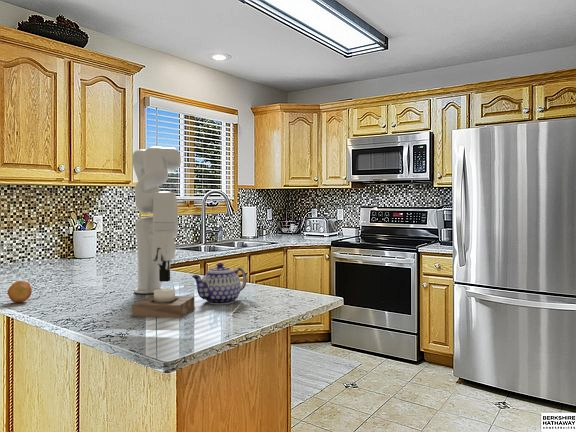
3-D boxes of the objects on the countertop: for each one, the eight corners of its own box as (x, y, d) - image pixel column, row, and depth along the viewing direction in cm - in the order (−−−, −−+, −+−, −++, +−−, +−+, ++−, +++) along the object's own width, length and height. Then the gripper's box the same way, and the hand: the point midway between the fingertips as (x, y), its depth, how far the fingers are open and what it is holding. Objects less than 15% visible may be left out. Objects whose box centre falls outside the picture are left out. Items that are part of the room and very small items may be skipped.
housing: (151, 306, 167) (151, 295, 167) (194, 307, 165) (194, 296, 165) (132, 316, 151) (132, 304, 151) (179, 317, 149) (179, 305, 149)
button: (158, 298, 162) (158, 288, 162) (177, 298, 161) (177, 288, 161) (150, 302, 155) (150, 291, 155) (171, 302, 154) (170, 292, 154)
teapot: (235, 295, 190) (235, 258, 190) (258, 300, 178) (258, 261, 178) (181, 303, 173) (181, 263, 173) (203, 309, 161) (202, 267, 161)
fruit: (5, 286, 178) (5, 283, 171) (28, 280, 182) (28, 277, 176) (10, 306, 177) (10, 304, 170) (33, 300, 181) (34, 297, 175)
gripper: (161, 227, 165) (162, 278, 165) (145, 228, 151) (145, 284, 150) (182, 227, 165) (182, 278, 165) (167, 228, 150) (167, 284, 150)
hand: (164, 281), depth 157 cm, fingers closed
